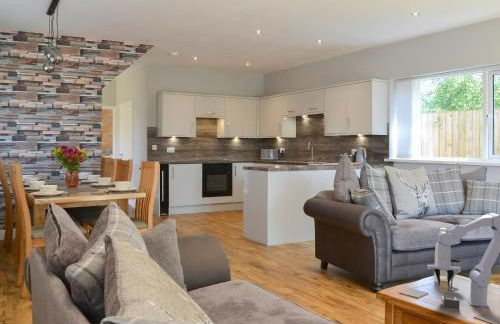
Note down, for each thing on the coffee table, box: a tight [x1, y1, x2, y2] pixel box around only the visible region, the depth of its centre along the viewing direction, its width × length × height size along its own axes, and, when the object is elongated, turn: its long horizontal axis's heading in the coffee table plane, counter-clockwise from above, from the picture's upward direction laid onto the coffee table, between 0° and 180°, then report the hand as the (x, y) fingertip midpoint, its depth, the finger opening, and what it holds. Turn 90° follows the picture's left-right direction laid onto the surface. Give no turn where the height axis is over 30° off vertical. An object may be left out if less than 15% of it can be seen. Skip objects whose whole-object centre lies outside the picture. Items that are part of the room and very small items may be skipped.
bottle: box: [433, 227, 448, 284], centre depth 258 cm, size 8×8×30 cm
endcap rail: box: [441, 295, 460, 312], centre depth 222 cm, size 16×6×5 cm, turn 162°
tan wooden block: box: [438, 276, 449, 293], centre depth 224 cm, size 9×3×5 cm, turn 161°
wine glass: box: [446, 258, 462, 292], centre depth 247 cm, size 8×8×15 cm
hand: (443, 285), depth 224 cm, fingers closed on tan wooden block, 3 cm apart
